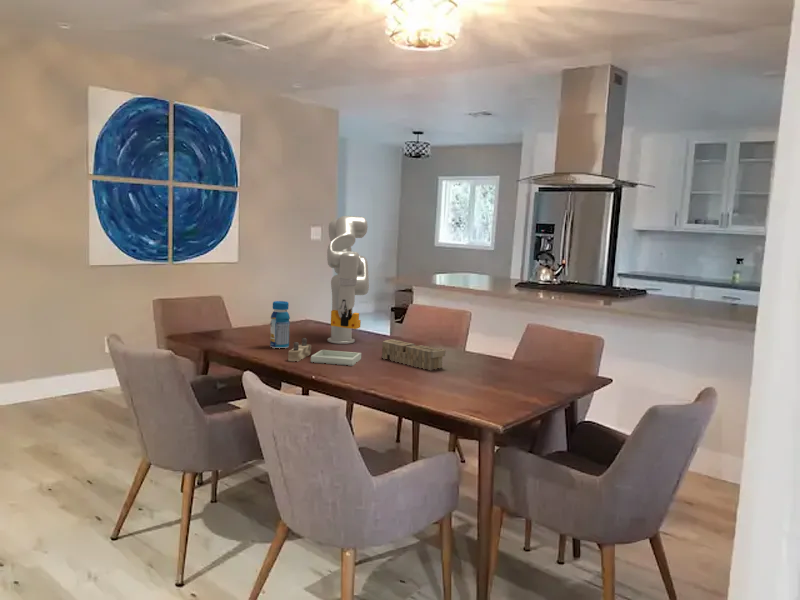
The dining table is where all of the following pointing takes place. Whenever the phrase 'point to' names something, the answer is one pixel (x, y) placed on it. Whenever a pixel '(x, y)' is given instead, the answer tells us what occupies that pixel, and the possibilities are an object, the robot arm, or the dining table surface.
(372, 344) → the dining table surface
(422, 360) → the block tower
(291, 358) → the block
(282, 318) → the beverage bottle
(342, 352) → the tray
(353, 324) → the pipe clamp
